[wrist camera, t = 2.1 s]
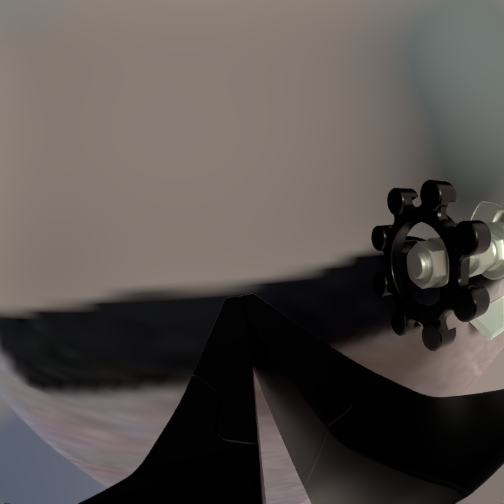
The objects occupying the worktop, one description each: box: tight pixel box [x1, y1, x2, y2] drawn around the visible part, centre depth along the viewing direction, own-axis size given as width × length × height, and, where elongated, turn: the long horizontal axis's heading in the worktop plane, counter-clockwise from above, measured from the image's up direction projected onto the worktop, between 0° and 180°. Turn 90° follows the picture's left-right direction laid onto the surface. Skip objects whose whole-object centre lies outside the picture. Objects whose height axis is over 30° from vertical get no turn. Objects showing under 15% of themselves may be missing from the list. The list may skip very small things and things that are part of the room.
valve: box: [371, 180, 504, 351], centre depth 10 cm, size 7×7×12 cm
